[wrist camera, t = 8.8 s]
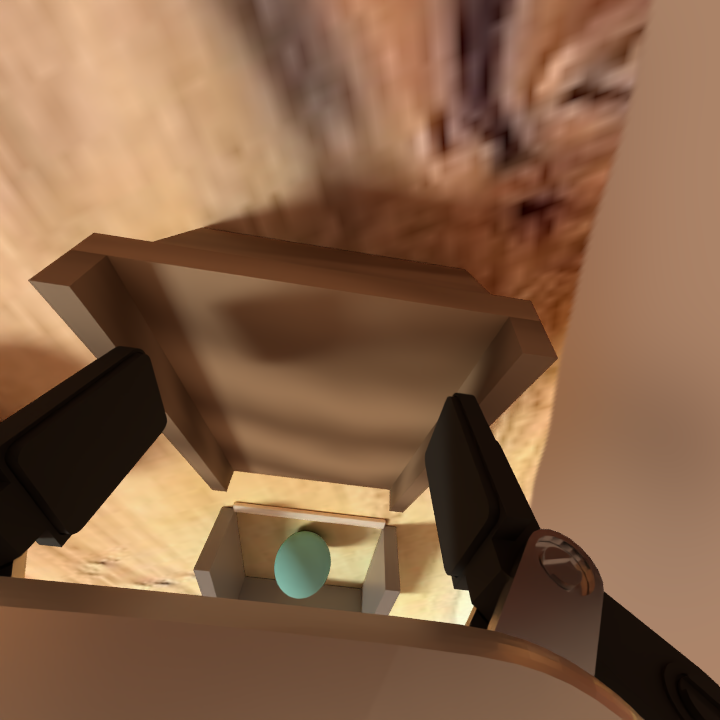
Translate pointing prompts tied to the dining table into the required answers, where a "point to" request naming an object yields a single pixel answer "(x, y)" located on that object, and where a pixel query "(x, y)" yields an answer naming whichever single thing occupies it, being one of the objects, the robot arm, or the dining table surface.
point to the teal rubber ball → (302, 564)
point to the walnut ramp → (299, 350)
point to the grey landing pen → (227, 580)
